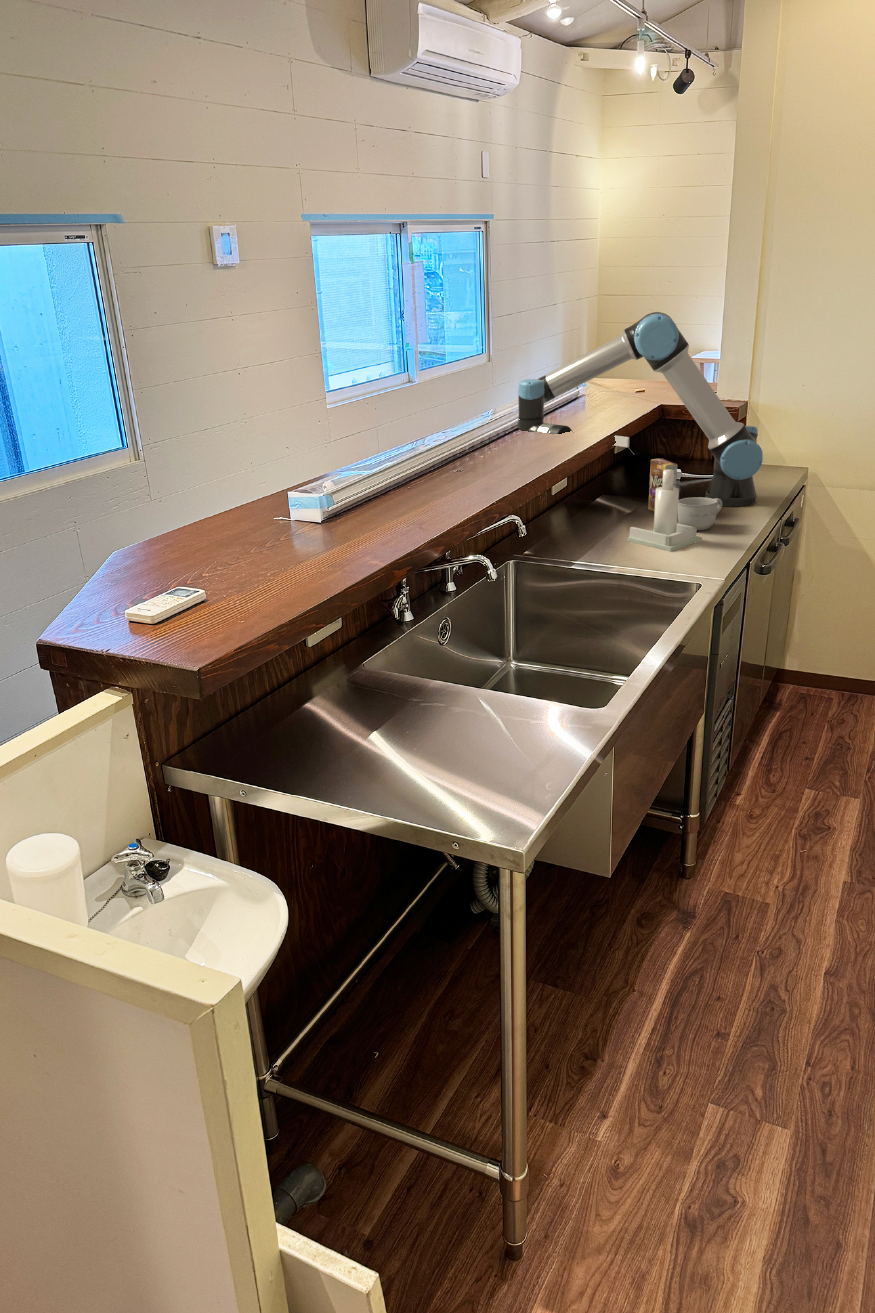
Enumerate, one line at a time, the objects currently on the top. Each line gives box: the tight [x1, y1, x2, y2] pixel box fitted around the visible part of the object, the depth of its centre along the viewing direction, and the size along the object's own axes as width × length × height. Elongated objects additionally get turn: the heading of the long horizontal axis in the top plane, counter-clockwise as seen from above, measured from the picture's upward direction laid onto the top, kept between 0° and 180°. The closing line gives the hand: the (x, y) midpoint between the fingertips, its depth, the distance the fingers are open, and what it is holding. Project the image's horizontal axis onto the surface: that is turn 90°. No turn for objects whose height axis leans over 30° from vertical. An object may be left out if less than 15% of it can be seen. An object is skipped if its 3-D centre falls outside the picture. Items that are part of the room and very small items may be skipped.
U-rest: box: [626, 522, 703, 552], centre depth 256 cm, size 14×14×4 cm
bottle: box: [653, 469, 680, 535], centre depth 253 cm, size 6×6×18 cm
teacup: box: [677, 496, 723, 531], centre depth 267 cm, size 14×11×8 cm
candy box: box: [647, 458, 678, 513], centre depth 281 cm, size 9×4×15 cm, turn 17°
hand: (613, 445), depth 264 cm, fingers open, 13 cm apart
